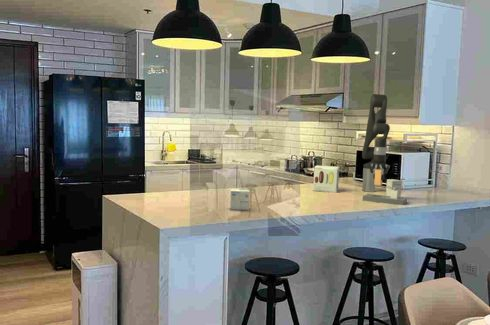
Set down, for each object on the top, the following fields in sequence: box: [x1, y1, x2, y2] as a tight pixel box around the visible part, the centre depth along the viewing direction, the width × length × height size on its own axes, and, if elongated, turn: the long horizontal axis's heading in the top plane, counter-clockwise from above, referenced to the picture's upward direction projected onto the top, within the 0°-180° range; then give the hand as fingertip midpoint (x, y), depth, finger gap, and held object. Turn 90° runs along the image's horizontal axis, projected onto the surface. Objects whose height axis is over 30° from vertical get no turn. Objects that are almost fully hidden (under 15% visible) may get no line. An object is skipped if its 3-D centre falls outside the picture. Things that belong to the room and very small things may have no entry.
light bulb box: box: [229, 188, 250, 211], centre depth 274 cm, size 11×7×11 cm, turn 92°
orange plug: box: [374, 169, 383, 186], centre depth 317 cm, size 4×4×12 cm
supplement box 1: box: [312, 164, 340, 194], centre depth 356 cm, size 17×13×18 cm
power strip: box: [362, 187, 408, 206], centre depth 316 cm, size 12×26×10 cm, turn 60°
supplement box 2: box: [385, 178, 402, 197], centre depth 332 cm, size 7×7×13 cm
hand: (378, 179), depth 318 cm, fingers closed on orange plug, 4 cm apart
